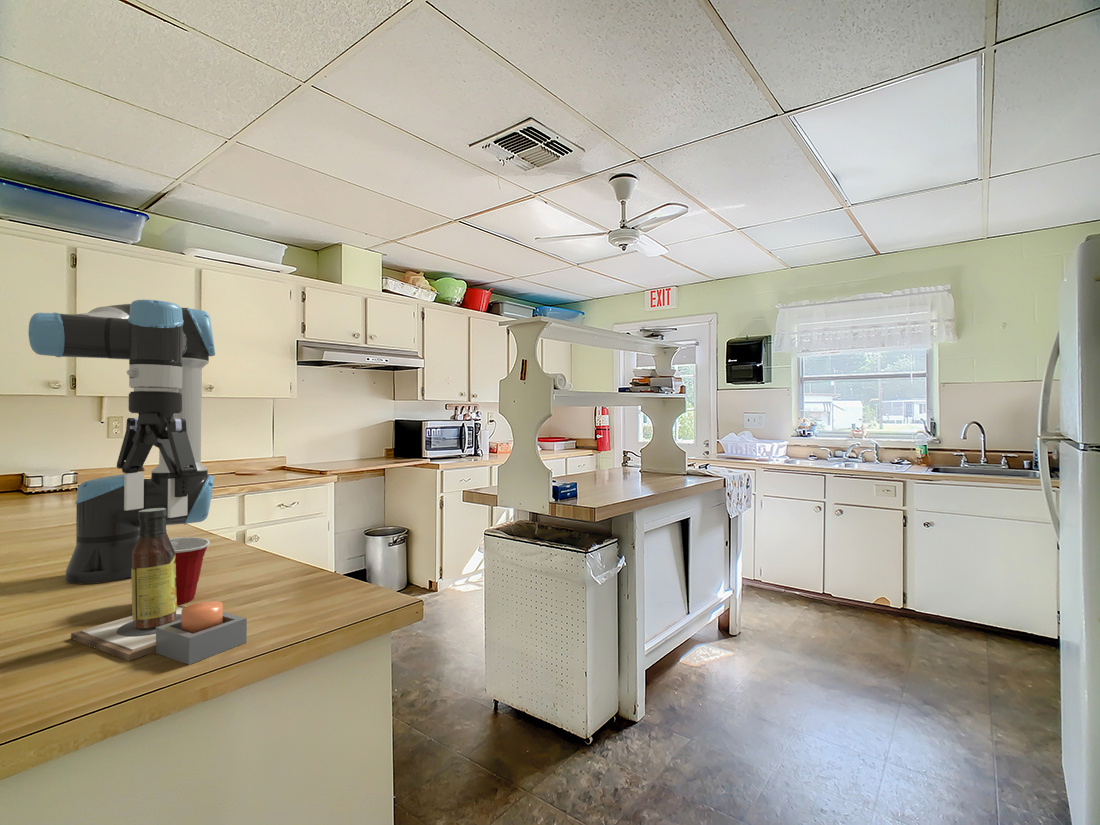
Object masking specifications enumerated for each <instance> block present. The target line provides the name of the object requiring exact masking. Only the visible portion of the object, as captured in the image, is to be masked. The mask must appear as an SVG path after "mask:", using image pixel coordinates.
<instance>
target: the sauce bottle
mask: <svg viewBox="0 0 1100 825" xmlns="http://www.w3.org/2000/svg"><path fill="white" fill-rule="evenodd" d="M166 516H167V509H166V508H152V509H145V510H140V511H138V519H139V521H140V533H139V539H138V542H137V543H136V545H135V546H134V548H133V550H132V567H131V577H130V578H131V604H132V605H131V608H132V615H131V616H132V617H133V620H134V622H133V625H134V627H135V628H137V629H154V628H156V627H159V626H162V625H165V624H168V623H172V622H173V621H174V620H175V619H176V610H177V595H176V557H175V551H174V549H173V546H172V544H171V542H170V540H169V538H170V537H169V535H168V533H167V531H168V530H167V525H166Z"/></svg>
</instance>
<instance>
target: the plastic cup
mask: <svg viewBox="0 0 1100 825" xmlns="http://www.w3.org/2000/svg"><path fill="white" fill-rule="evenodd" d="M169 540H170V542H171V544H172V546H173V549H174V551H175V557H176V595H177V605H182V604H186V603H189V602H191V601H193V600H195V596H196V595H197V594H196V592H197V587H198V582H199V580H200V576H201V570H202V565H203V561H204V557H205V553H206V551H207V548H208V547H209V545H210V544H211V541H210V540H209V539H207V538H204V537H203V538H202V537H195V536H194V537H193V536H187V537H186V536H182V537H181V536H179V537H178V536H177V537H169Z"/></svg>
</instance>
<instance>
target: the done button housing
mask: <svg viewBox="0 0 1100 825" xmlns="http://www.w3.org/2000/svg"><path fill="white" fill-rule="evenodd" d="M247 620H248V619H247V617H244V616H240V615H237V614H232V613H229V612H225V611H223V624H220V625H217V626H214V627H211V628H208V629H205V630H203V631H200V632H197V633H194V634H192V633H189V632H186V631H183V630H181V620H178V621H175V622H172V623H168V624H165V625H162V626H159V627H156V652H155V654H158V655H161V656H163V657H165V658H166V657H167V658H169V659H172V660H175V661H178V662H180V663H184V664H185V665H192V664H194V663H197V662H200V661H203V660H205V659H208V658H210V657H213V656H215V655H218V654H221V653H224V652H226V651H228V650H231V649H234V648H236V647H238V646H242V645H244V644H246V643H247V641H248V640H247V630H248V629H247V628H248V627H247V622H248V621H247Z"/></svg>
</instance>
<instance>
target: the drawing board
mask: <svg viewBox="0 0 1100 825" xmlns="http://www.w3.org/2000/svg"><path fill="white" fill-rule="evenodd" d="M184 607H185V606H183V605H181V604H178V605H177V610H176V619H175V620H174V621H173V622H175V621H178V620H181V610H182V609H183V608H184ZM133 622H134V620H133V617H132V615H130V616H129V615H128V616H126V617H122V618H119V619H116V620H112V621H111V620H110V621H108V622H105V623H101V624H97V625H94V626H91V627H87V628H83V629H80V630H76V631H72V632H70V639H71V638H72V639H75V640H77V641H76V642H78V641H80V642H82V643H81V644H83V643H84V645H85V644H87V645H86V646H88V645H90V646H89V647H91V646H92V647H91V648H93V647H95V648H94V649H96V648H97V649H96V650H98V649H100V650H99V651H101V650H102V652H104V651H105V652H104V653H106V652H108V653H107V654H109V653H110V655H111V654H113V655H112V656H114V655H115V656H114V657H116V658H119V659H122V660H125V661H128V662H130V661H132V660H135V659H139V658H141V657H144V656H147V655H149V654H153V653H156V628H154V629H137V628H135V627H134V625H133ZM72 639H71V640H72ZM75 640H74V641H75ZM80 642H79V643H80Z"/></svg>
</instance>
